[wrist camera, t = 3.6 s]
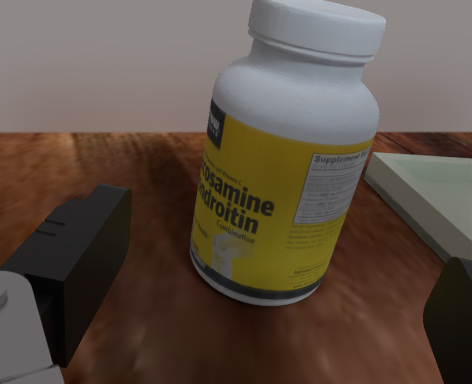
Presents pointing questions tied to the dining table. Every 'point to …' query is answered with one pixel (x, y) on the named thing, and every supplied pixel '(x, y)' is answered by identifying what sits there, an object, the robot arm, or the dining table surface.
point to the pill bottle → (285, 150)
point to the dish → (428, 198)
